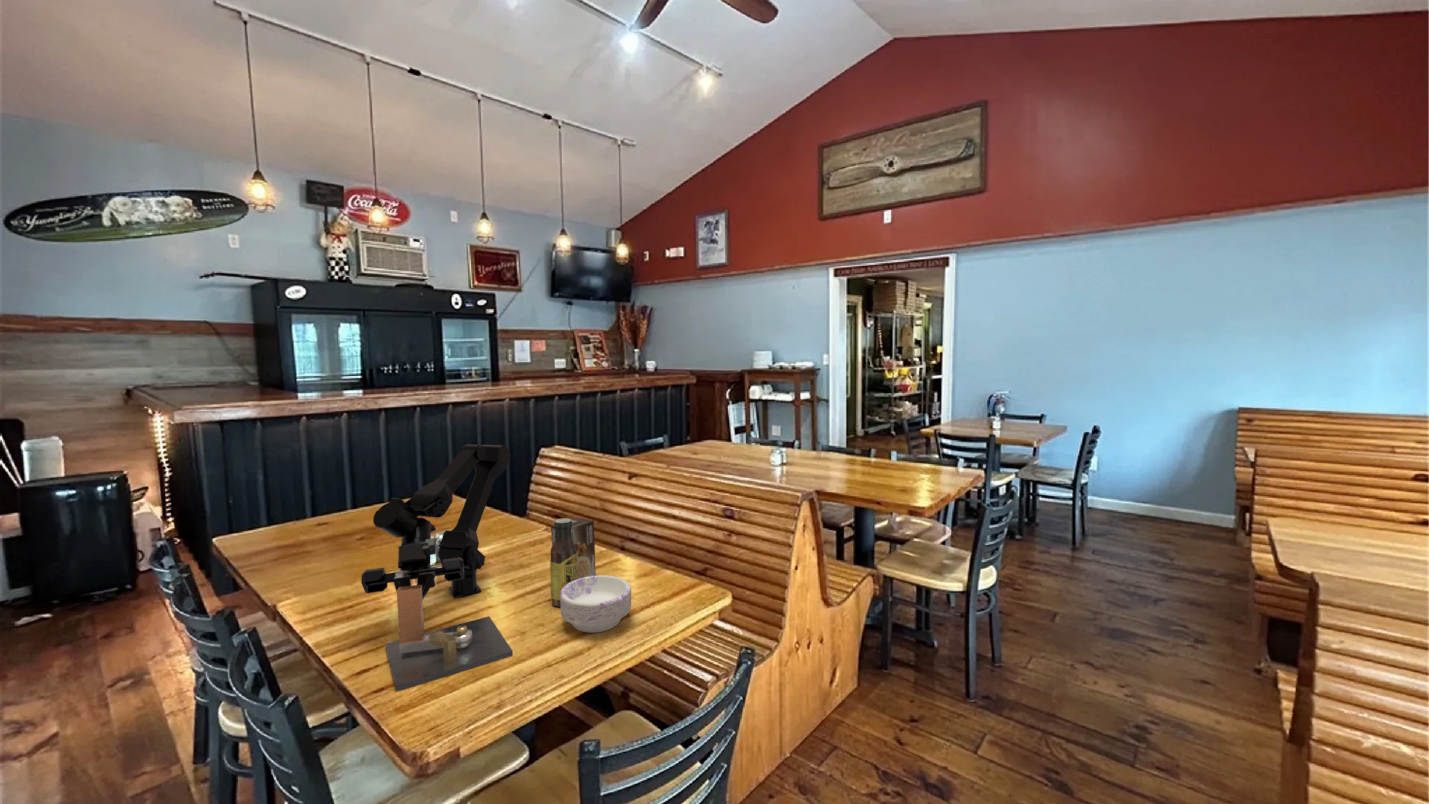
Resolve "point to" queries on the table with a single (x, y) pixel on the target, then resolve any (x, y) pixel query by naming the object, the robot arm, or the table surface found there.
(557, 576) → the sauce bottle
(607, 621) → the paper bowls
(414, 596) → the link
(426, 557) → the robot arm
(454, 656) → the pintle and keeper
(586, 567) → the coffee box
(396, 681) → the base plate
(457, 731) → the table surface
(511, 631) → the table surface
